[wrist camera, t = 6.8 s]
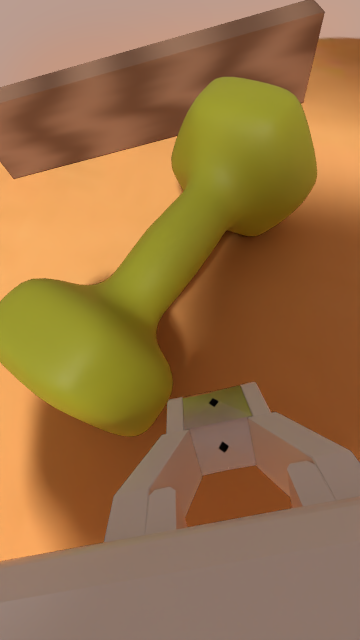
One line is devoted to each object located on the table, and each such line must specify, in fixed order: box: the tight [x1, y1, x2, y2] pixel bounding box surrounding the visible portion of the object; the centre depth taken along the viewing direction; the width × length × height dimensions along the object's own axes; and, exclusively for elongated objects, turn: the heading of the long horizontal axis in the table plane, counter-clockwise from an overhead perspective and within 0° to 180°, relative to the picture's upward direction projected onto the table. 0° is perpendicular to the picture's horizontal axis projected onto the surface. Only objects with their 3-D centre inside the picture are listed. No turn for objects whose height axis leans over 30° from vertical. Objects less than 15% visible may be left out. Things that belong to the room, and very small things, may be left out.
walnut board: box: [0, 0, 325, 178], centre depth 20 cm, size 24×2×5 cm, turn 100°
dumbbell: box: [0, 77, 317, 437], centre depth 13 cm, size 16×8×7 cm, turn 144°
